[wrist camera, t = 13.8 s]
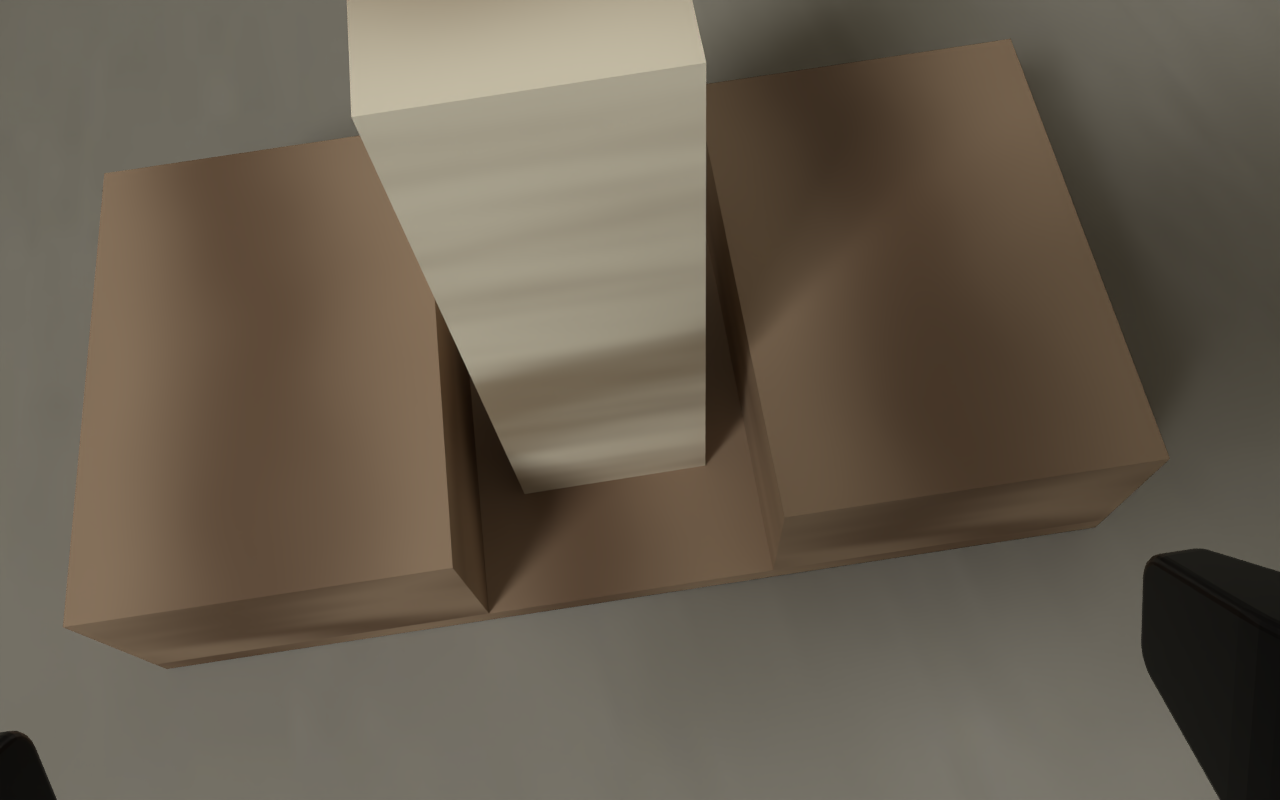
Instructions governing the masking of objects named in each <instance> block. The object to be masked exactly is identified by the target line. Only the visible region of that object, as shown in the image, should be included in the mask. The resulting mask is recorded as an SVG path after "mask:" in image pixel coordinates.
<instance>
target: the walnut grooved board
mask: <svg viewBox="0 0 1280 800" xmlns="http://www.w3.org/2000/svg"><path fill="white" fill-rule="evenodd" d="M1169 459H1170V458H1169V455H1168V452H1167V450H1166V447H1165V444H1164V442H1163V439H1162V437H1161V434H1160V431H1159V429H1158V426H1157V423H1156V421H1155V418H1154V415H1153V413H1152V410H1151V408H1150V405H1149V402H1148V400H1147V397H1146V394H1145V392H1144V389H1143V386H1142V384H1141V381H1140V379H1139V376H1138V373H1137V371H1136V368H1135V365H1134V363H1133V360H1132V357H1131V355H1130V352H1129V350H1128V347H1127V344H1126V342H1125V339H1124V336H1123V334H1122V331H1121V329H1120V326H1119V323H1118V321H1117V318H1116V315H1115V313H1114V310H1113V307H1112V305H1111V302H1110V300H1109V297H1108V294H1107V292H1106V289H1105V286H1104V284H1103V281H1102V278H1101V276H1100V273H1099V271H1098V268H1097V265H1096V263H1095V260H1094V257H1093V255H1092V252H1091V249H1090V247H1089V244H1088V242H1087V239H1086V236H1085V234H1084V231H1083V228H1082V226H1081V223H1080V220H1079V218H1078V215H1077V213H1076V210H1075V207H1074V205H1073V202H1072V199H1071V197H1070V194H1069V191H1068V189H1067V186H1066V184H1065V181H1064V178H1063V176H1062V173H1061V170H1060V168H1059V165H1058V163H1057V160H1056V157H1055V155H1054V152H1053V149H1052V147H1051V144H1050V141H1049V139H1048V136H1047V134H1046V131H1045V128H1044V126H1043V123H1042V120H1041V118H1040V115H1039V112H1038V110H1037V107H1036V105H1035V102H1034V99H1033V97H1032V94H1031V91H1030V89H1029V86H1028V83H1027V81H1026V78H1025V76H1024V73H1023V70H1022V68H1021V65H1020V62H1019V60H1018V57H1017V54H1016V52H1015V49H1014V47H1013V44H1012V41H1011V39H1006V40H1000V41H993V42H986V43H979V44H973V45H966V46H959V47H952V48H946V49H939V50H932V51H926V52H919V53H912V54H905V55H899V56H892V57H885V58H878V59H872V60H865V61H858V62H852V63H845V64H838V65H831V66H825V67H818V68H811V69H804V70H798V71H791V72H784V73H778V74H771V75H764V76H757V77H751V78H744V79H737V80H730V81H724V82H717V83H710V84H706V389H705V466H699V467H693V468H687V469H680V470H674V471H668V472H661V473H655V474H649V475H642V476H636V477H630V478H623V479H617V480H611V481H604V482H598V483H592V484H585V485H579V486H572V487H566V488H560V489H553V490H547V491H541V492H534V493H528V494H524V492H523V489H522V487H521V485H520V483H519V481H518V479H517V476H516V474H515V472H514V470H513V468H512V465H511V463H510V461H509V459H508V457H507V455H506V452H505V450H504V448H503V446H502V444H501V442H500V439H499V437H498V435H497V433H496V431H495V428H494V426H493V424H492V422H491V420H490V418H489V415H488V413H487V411H486V409H485V407H484V405H483V402H482V400H481V398H480V396H479V394H478V391H477V389H476V387H475V385H474V383H473V381H472V378H471V376H470V374H469V372H468V370H467V368H466V365H465V363H464V361H463V359H462V357H461V354H460V352H459V350H458V348H457V346H456V344H455V341H454V339H453V337H452V335H451V333H450V331H449V328H448V326H447V324H446V322H445V320H444V317H443V315H442V313H441V311H440V309H439V307H438V304H437V302H436V300H435V298H434V296H433V294H432V291H431V289H430V287H429V285H428V283H427V280H426V278H425V276H424V274H423V272H422V270H421V267H420V265H419V263H418V261H417V259H416V257H415V254H414V252H413V250H412V248H411V246H410V243H409V241H408V239H407V237H406V235H405V233H404V230H403V228H402V226H401V224H400V222H399V220H398V217H397V215H396V213H395V211H394V209H393V206H392V204H391V202H390V200H389V198H388V196H387V193H386V191H385V189H384V187H383V185H382V183H381V180H380V178H379V176H378V174H377V172H376V169H375V167H374V165H373V163H372V161H371V159H370V156H369V154H368V152H367V150H366V148H365V146H364V143H363V141H362V139H361V137H360V136H354V137H347V138H340V139H333V140H327V141H320V142H313V143H306V144H300V145H293V146H286V147H279V148H273V149H266V150H259V151H253V152H246V153H239V154H232V155H226V156H219V157H212V158H205V159H199V160H192V161H185V162H179V163H172V164H165V165H158V166H152V167H145V168H138V169H131V170H125V171H118V172H111V173H105V174H104V184H103V195H102V206H101V217H100V228H99V238H98V249H97V260H96V271H95V282H94V293H93V304H92V315H91V326H90V337H89V348H88V359H87V370H86V381H85V392H84V403H83V414H82V425H81V436H80V447H79V458H78V469H77V480H76V491H75V502H74V513H73V524H72V535H71V546H70V557H69V568H68V579H67V590H66V600H65V611H64V622H63V627H64V628H67V629H69V630H71V631H74V632H76V633H79V634H81V635H84V636H86V637H89V638H91V639H94V640H96V641H99V642H101V643H104V644H106V645H109V646H111V647H114V648H116V649H119V650H121V651H124V652H126V653H129V654H131V655H134V656H136V657H139V658H141V659H143V660H146V661H148V662H151V663H153V664H156V665H158V666H161V667H163V668H166V669H169V668H176V667H182V666H189V665H195V664H202V663H209V662H215V661H222V660H228V659H235V658H241V657H248V656H254V655H261V654H268V653H274V652H281V651H287V650H294V649H300V648H307V647H313V646H320V645H326V644H333V643H340V642H346V641H353V640H359V639H366V638H372V637H379V636H385V635H392V634H399V633H405V632H412V631H418V630H425V629H431V628H438V627H444V626H451V625H458V624H464V623H471V622H477V621H484V620H490V619H497V618H503V617H510V616H517V615H523V614H530V613H536V612H543V611H549V610H556V609H562V608H569V607H576V606H582V605H589V604H595V603H602V602H608V601H615V600H621V599H628V598H635V597H641V596H648V595H654V594H661V593H667V592H674V591H680V590H687V589H694V588H700V587H707V586H713V585H720V584H726V583H733V582H739V581H746V580H753V579H759V578H766V577H772V576H779V575H785V574H792V573H798V572H805V571H812V570H818V569H825V568H831V567H838V566H844V565H851V564H857V563H864V562H871V561H877V560H884V559H890V558H897V557H903V556H910V555H916V554H923V553H930V552H936V551H943V550H949V549H956V548H962V547H969V546H975V545H982V544H989V543H995V542H1002V541H1008V540H1015V539H1021V538H1028V537H1034V536H1041V535H1048V534H1054V533H1061V532H1067V531H1074V530H1080V529H1087V528H1093V527H1096V526H1097V525H1098V524H1099V523H1100V522H1101V521H1103V520H1104V519H1105V518H1106V517H1107V516H1108V515H1109V514H1110V513H1111V512H1112V511H1113V510H1115V509H1116V508H1117V507H1118V506H1119V505H1120V504H1121V503H1122V502H1123V501H1124V500H1125V499H1127V498H1128V497H1129V496H1130V495H1131V494H1132V493H1133V492H1134V491H1135V490H1136V489H1137V488H1139V487H1140V486H1141V485H1142V484H1143V483H1144V482H1145V481H1146V480H1147V479H1148V478H1149V477H1151V476H1152V475H1153V474H1154V473H1155V472H1156V471H1157V470H1158V469H1159V468H1160V467H1161V466H1163V465H1164V464H1165V463H1166V462H1167V461H1168V460H1169Z"/></svg>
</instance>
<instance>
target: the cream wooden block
mask: <svg viewBox="0 0 1280 800" xmlns="http://www.w3.org/2000/svg"><path fill="white" fill-rule="evenodd" d="M347 16H348V42H349V68H350V93H351V117H352V119H353V122H354V124H355V126H356V128H357V130H358V132H359V135H360V137H361V139H362V141H363V143H364V146H365V148H366V150H367V152H368V154H369V156H370V159H371V161H372V163H373V165H374V167H375V169H376V172H377V174H378V176H379V178H380V180H381V183H382V185H383V187H384V189H385V191H386V193H387V196H388V198H389V200H390V202H391V204H392V206H393V209H394V211H395V213H396V215H397V217H398V220H399V222H400V224H401V226H402V228H403V230H404V233H405V235H406V237H407V239H408V241H409V243H410V246H411V248H412V250H413V252H414V254H415V257H416V259H417V261H418V263H419V265H420V267H421V270H422V272H423V274H424V276H425V278H426V280H427V283H428V285H429V287H430V289H431V291H432V294H433V296H434V298H435V300H436V302H437V304H438V307H439V309H440V311H441V313H442V315H443V317H444V320H445V322H446V324H447V326H448V328H449V331H450V333H451V335H452V337H453V339H454V341H455V344H456V346H457V348H458V350H459V352H460V354H461V357H462V359H463V361H464V363H465V365H466V368H467V370H468V372H469V374H470V376H471V378H472V381H473V383H474V385H475V387H476V389H477V391H478V394H479V396H480V398H481V400H482V402H483V405H484V407H485V409H486V411H487V413H488V415H489V418H490V420H491V422H492V424H493V426H494V428H495V431H496V433H497V435H498V437H499V439H500V442H501V444H502V446H503V448H504V450H505V452H506V455H507V457H508V459H509V461H510V463H511V465H512V468H513V470H514V472H515V474H516V476H517V479H518V481H519V483H520V485H521V487H522V489H523V492H524V494H528V493H534V492H541V491H547V490H553V489H560V488H566V487H572V486H579V485H585V484H592V483H598V482H604V481H611V480H617V479H623V478H630V477H636V476H642V475H649V474H655V473H661V472H668V471H674V470H680V469H687V468H693V467H699V466H705V389H706V60H705V55H704V51H703V46H702V42H701V37H700V33H699V28H698V24H697V20H696V15H695V11H694V6H693V2H692V0H347Z"/></svg>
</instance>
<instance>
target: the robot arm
mask: <svg viewBox="0 0 1280 800" xmlns="http://www.w3.org/2000/svg"><path fill="white" fill-rule="evenodd" d="M1141 646H1142V654H1143V658H1144V662H1145V665H1146V668H1147V671H1148V673H1149V675H1150V677H1151V679H1152V681H1153V682H1154V684H1155V686H1156V688H1157V689H1158V691H1159V693H1160V695H1161V697H1162V698H1163V700H1164V702H1165V704H1166V705H1167V707H1168V709H1169V711H1170V712H1171V714H1172V716H1173V718H1174V720H1175V721H1176V723H1177V725H1178V727H1179V728H1180V730H1181V732H1182V734H1183V735H1184V737H1185V739H1186V741H1187V743H1188V744H1189V746H1190V748H1191V750H1192V751H1193V753H1194V755H1195V757H1196V758H1197V760H1198V762H1199V764H1200V766H1201V767H1202V769H1203V771H1204V773H1205V774H1206V776H1207V778H1208V780H1209V781H1210V783H1211V785H1212V787H1213V789H1214V790H1215V792H1216V794H1217V796H1218V797H1219V799H1220V800H1280V572H1278V571H1275V570H1272V569H1269V568H1265V567H1262V566H1259V565H1256V564H1252V563H1249V562H1246V561H1243V560H1239V559H1236V558H1233V557H1229V556H1226V555H1223V554H1220V553H1216V552H1213V551H1210V550H1206V549H1189V550H1182V551H1176V552H1170V553H1163V554H1158V555H1155V556H1153V557H1152V558H1151V559H1150V560H1149V561H1148V562H1147V563H1146V566H1145V569H1144V575H1143V600H1142V634H1141ZM0 800H57V799H56V797H55V794H54V792H53V789H52V787H51V784H50V782H49V780H48V777H47V775H46V772H45V770H44V767H43V765H42V762H41V760H40V758H39V755H38V753H37V750H36V748H35V746H34V744H33V742H32V741H31V740H30V738H29V737H28V736H27V735H25V734H23V733H21V732H18V731H7V732H0Z"/></svg>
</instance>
